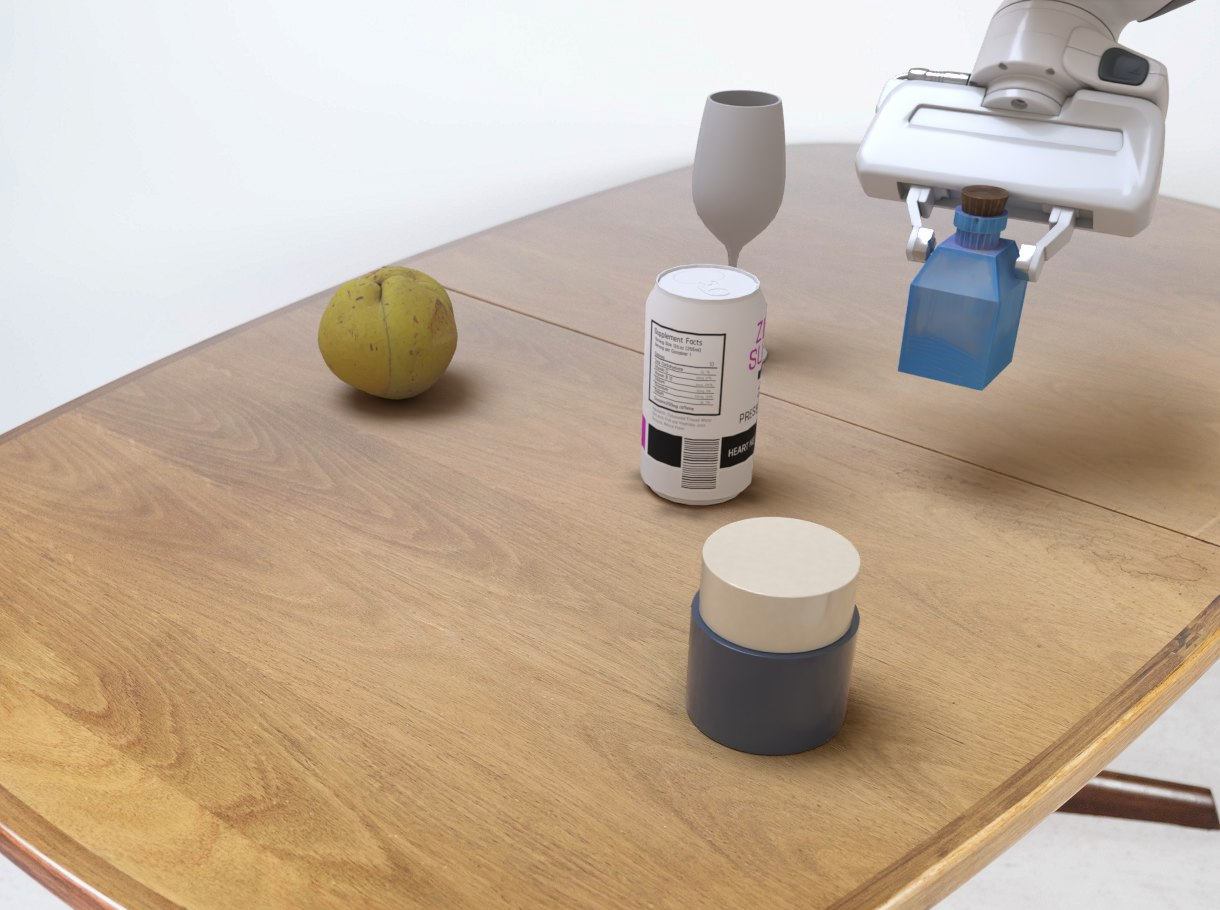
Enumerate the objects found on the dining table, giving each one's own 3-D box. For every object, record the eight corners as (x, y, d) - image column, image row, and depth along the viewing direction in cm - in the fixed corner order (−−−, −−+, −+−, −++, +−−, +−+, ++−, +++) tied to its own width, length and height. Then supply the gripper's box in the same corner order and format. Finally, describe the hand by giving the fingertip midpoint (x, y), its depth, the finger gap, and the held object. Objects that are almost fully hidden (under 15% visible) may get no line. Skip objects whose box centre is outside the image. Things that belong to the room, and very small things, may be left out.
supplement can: (624, 467, 100) (628, 268, 91) (723, 451, 103) (738, 255, 94) (665, 517, 94) (674, 309, 85) (770, 498, 97) (790, 294, 88)
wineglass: (784, 363, 117) (809, 105, 104) (705, 375, 114) (721, 113, 101) (745, 332, 122) (765, 84, 109) (669, 343, 120) (681, 91, 107)
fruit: (493, 395, 110) (488, 275, 104) (375, 436, 104) (363, 310, 98) (413, 355, 117) (404, 239, 111) (298, 391, 110) (282, 270, 104)
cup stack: (852, 672, 79) (875, 524, 73) (836, 767, 72) (860, 612, 66) (701, 650, 81) (711, 503, 75) (670, 740, 74) (679, 586, 68)
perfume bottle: (1011, 361, 96) (1046, 188, 88) (982, 391, 91) (1015, 211, 84) (930, 343, 98) (957, 173, 91) (897, 371, 94) (923, 195, 87)
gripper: (884, 36, 92) (817, 219, 91) (1193, 69, 84) (1123, 269, 83) (897, 93, 98) (834, 265, 97) (1187, 129, 90) (1121, 316, 89)
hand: (970, 267), depth 90 cm, fingers closed on perfume bottle, 6 cm apart
